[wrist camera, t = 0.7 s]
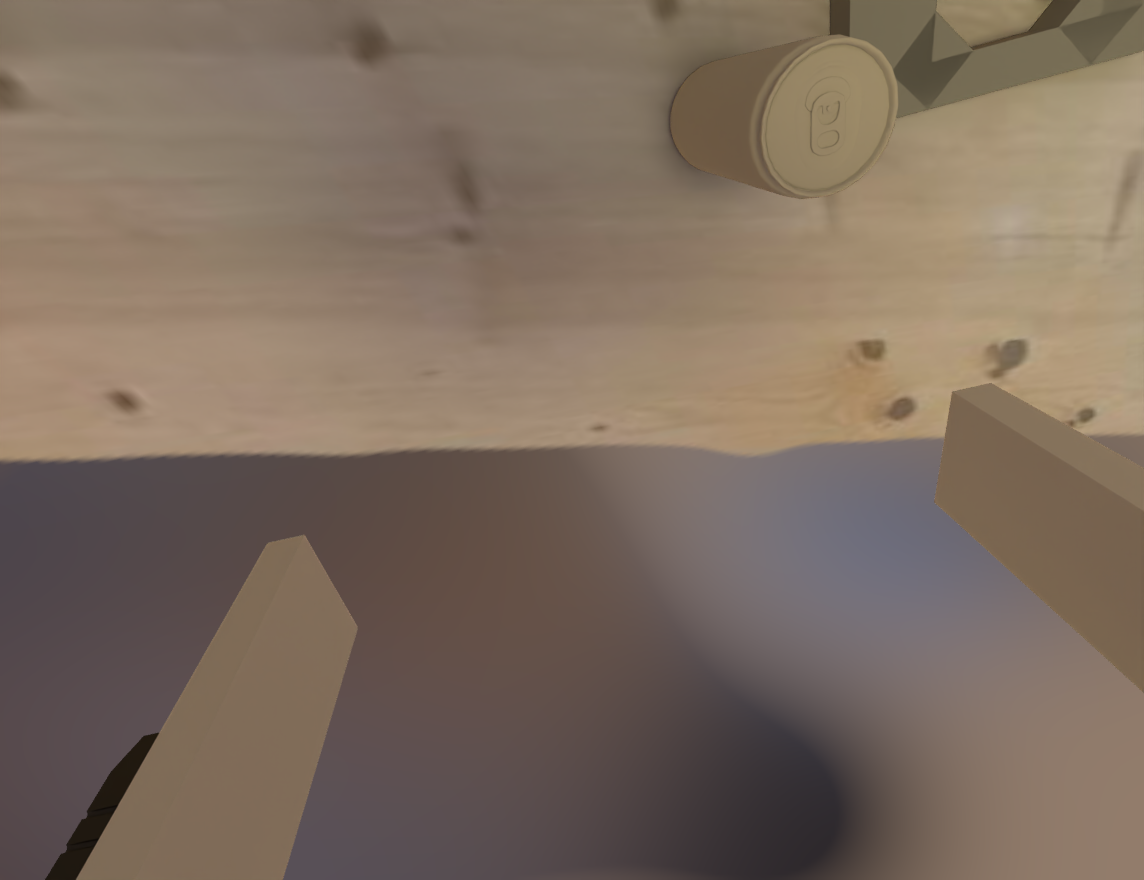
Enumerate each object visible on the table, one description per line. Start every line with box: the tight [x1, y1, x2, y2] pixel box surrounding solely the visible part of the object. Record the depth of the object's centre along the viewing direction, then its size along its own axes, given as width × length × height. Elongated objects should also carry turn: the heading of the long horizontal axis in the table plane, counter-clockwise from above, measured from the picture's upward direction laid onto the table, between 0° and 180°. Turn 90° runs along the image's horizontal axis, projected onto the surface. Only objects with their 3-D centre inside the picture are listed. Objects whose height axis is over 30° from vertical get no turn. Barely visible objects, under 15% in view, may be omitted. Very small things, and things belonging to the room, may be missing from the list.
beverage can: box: [670, 34, 898, 199], centre depth 23 cm, size 5×5×12 cm
